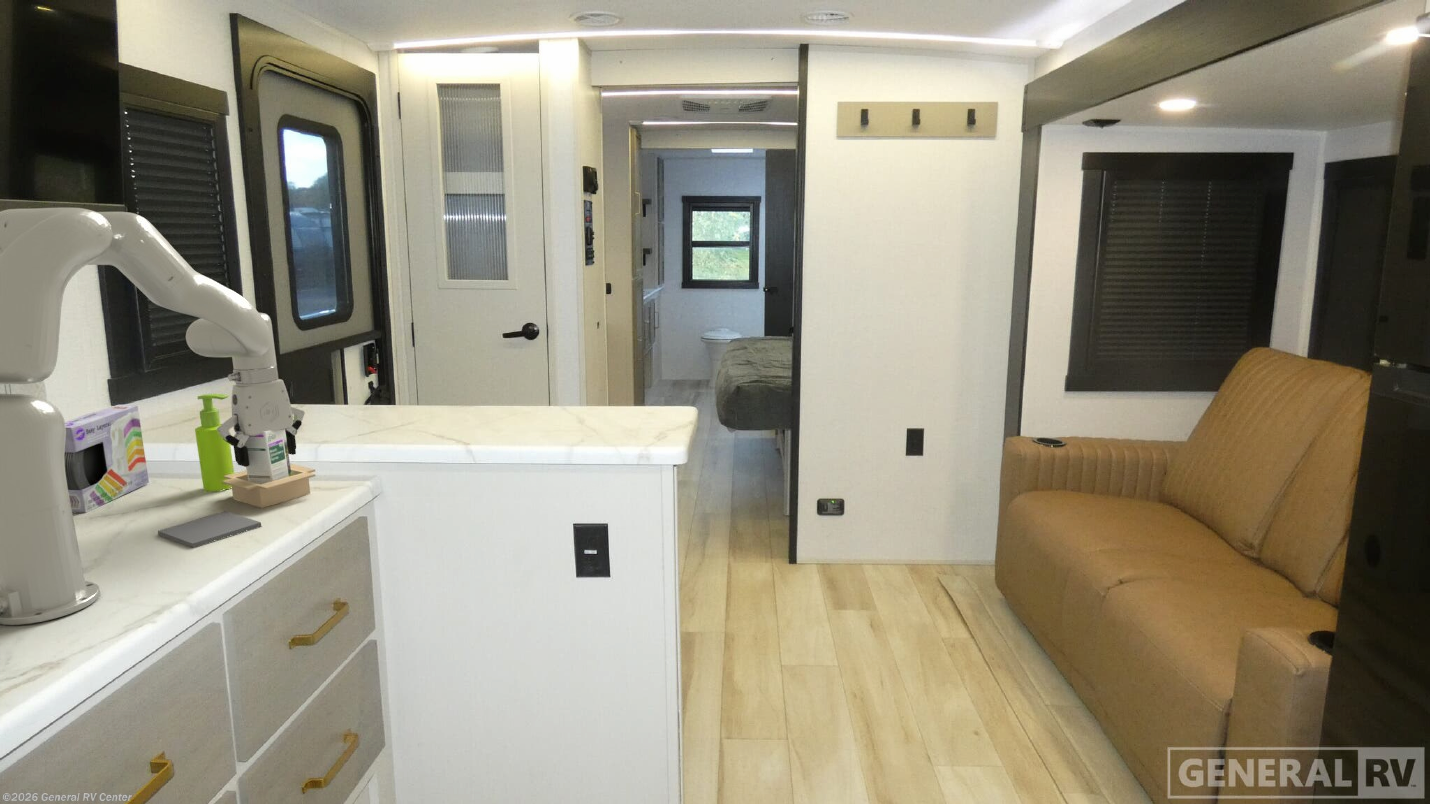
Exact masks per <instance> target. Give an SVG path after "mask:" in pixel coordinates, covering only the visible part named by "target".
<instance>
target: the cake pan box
mask: <svg viewBox="0 0 1430 804" xmlns="http://www.w3.org/2000/svg"><path fill="white" fill-rule="evenodd" d="M65 426H66V439H65V454H64V460H65V473H66V480H67V487H68V492H69V498H70V503H71V508H72V514H75V513H76V514H82V513H83V514H86V513H88V512H91V511H93V510H95V509H97V508H99V507H102V506H103V505H106V504H108V503H110V502H111V501H114V500H117V499H118V498H120V497H122V496H125V495H126V494H129V493H130V492H133V491H134V490H137V489H139V488H141V487H143V486H145V485H147V484H149V483H150V480H149V475H148V474H149V473H148V468H147V458H146V453H145V447H144V441H143V440H144V439H143V433H142V426H141V419H140V412H139V407H138V405H134V404H115V405H114V406H111V407H108V408H104V409H102V410H98V411H93V412H90V413H87V414H83V415H80V416H78V417H75V418H73V419H70V420H67V421H65Z"/></svg>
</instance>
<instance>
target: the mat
mask: <svg viewBox="0 0 1430 804" xmlns="http://www.w3.org/2000/svg"><path fill="white" fill-rule="evenodd" d="M260 526H261V527H262V523H261V522H260V521H258V520H256V519H255V520H254V519H252V518H248V517H245V516H243V515H239V514H235V513H233V512H229V511H226V510H224V511H221V512H217V513H214V514H211V515H207V516H204V517H201V518H197V519H194V520H193V519H192V520H190V521H186V522H183V523H180V524H176V525H172V526H170V527H165V528H162V529H159V530H157V535H158V536H160V535H161V536H160V537H163V538H165V537H166V538H165V539H168V540H171V541H173V540H174V541H173V542H176V543H179V544H182V545H185V546H187V547H189V548H192V549H194V547H195V548H197V547H200V545H201V546H203V545H202V544H204V545H207V544H210V543H209V542H211V543H213V542H212V541H214V540H217V541H219V539H220V540H222V539H221V538H223V537H226V538H228V537H227V536H230V535H233V536H236V535H238V534H237V533H239V534H242V533H245V532H247V531H246V530H248V531H251V529H252V530H254V528H255V529H258V528H260ZM257 527H258V528H257ZM244 531H245V532H244ZM241 532H242V533H241ZM235 534H236V535H235ZM230 537H231V536H230ZM223 539H224V538H223ZM214 542H215V541H214ZM206 543H207V544H206Z"/></svg>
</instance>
